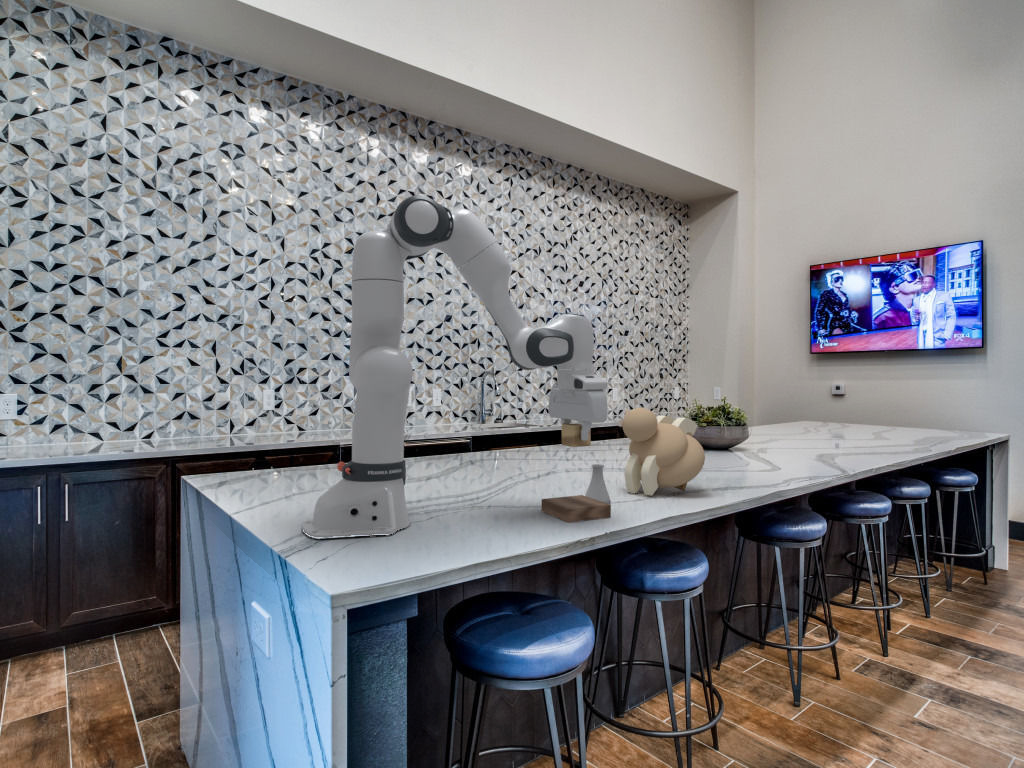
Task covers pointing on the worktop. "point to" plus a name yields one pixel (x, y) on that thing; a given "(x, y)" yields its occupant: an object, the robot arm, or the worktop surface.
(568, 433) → the oak cube
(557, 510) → the walnut base
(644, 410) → the tan rounded figure
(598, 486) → the flask
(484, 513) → the worktop surface
